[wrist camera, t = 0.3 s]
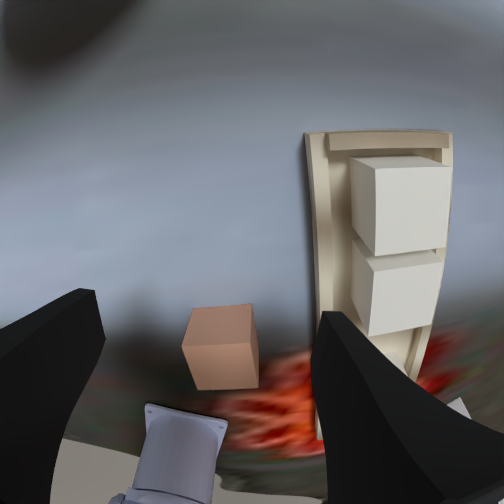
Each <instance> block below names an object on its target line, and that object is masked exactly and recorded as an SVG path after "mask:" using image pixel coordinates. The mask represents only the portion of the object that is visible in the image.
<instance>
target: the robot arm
mask: <svg viewBox="0 0 504 504" xmlns="http://www.w3.org/2000/svg"><path fill="white" fill-rule="evenodd" d="M105 340H106V338H105V334H104V330H103V326H102V322H101V318H100V313H99V309H98V304H97V300H96V295H95V290H90V289H83V288H79V289H76V290H74V291H71V292H69V293H67V294H65V295H63V296H61V297H59V298H58V299H56V300H54V301H52V302H50V303H48V304H47V305H45V306H43V307H41V308H39V309H38V310H36V311H34V312H32V313H30V314H29V315H27V316H25V317H23V318H21V319H19V320H17V321H15V322H13V323H11V324H10V325H8V326H6V327H4V328H2V329H0V504H50V493H51V485H52V479H53V473H54V468H55V463H56V459H57V455H58V451H59V447H60V444H61V440H62V437H63V434H64V431H65V428H66V425H67V422H68V420H69V417H70V415H71V413H72V411H73V409H74V407H75V405H76V403H77V401H78V399H79V397H80V395H81V393H82V391H83V389H84V387H85V385H86V383H87V382H88V380H89V378H90V376H91V374H92V372H93V370H94V368H95V366H96V364H97V362H98V359H99V356H100V354H101V351H102V348H103V346H104V343H105ZM310 363H311V377H312V388H313V393H314V398H315V403H316V408H317V413H318V417H319V422H320V427H321V432H322V437H323V442H324V447H325V454H326V465H327V482H328V504H498V502H500V501H501V500H502V499H504V434H503V433H500V432H497V431H495V430H492V429H490V428H488V427H486V426H484V425H482V424H480V423H477V422H475V421H473V420H471V419H470V418H468V417H466V416H464V415H462V414H460V413H459V412H457V411H456V410H454V409H452V408H451V407H449V406H447V405H446V404H444V403H443V402H441V401H440V400H438V399H437V398H435V397H434V396H432V395H431V394H430V393H428V392H427V391H426V390H424V389H423V388H422V387H420V386H419V385H418V384H416V383H415V382H414V381H413V380H411V379H410V378H409V377H408V376H407V375H405V374H404V373H403V372H402V371H401V370H400V369H399V368H398V367H396V366H395V365H394V364H393V363H392V362H391V361H390V360H389V359H388V358H387V357H386V356H385V355H384V354H383V353H382V352H381V351H380V350H379V349H378V348H377V347H376V346H375V345H374V344H373V343H372V342H371V341H370V340H369V339H368V338H367V337H366V336H365V335H364V334H363V333H362V332H361V331H360V330H359V329H358V328H357V327H356V326H355V325H354V324H353V322H352V321H351V320H350V319H349V318H348V317H347V316H346V315H345V314H344V313H343V312H342V311H322V314H321V319H320V323H319V327H318V331H317V335H316V339H315V343H314V347H313V351H312V355H311V359H310ZM145 420H146V432H147V435H146V439H145V442H144V446H143V449H142V453H141V456H140V460H139V463H138V467H137V470H136V474H135V478H134V482H133V486H132V488H128V489H127V493H126V495H124V494H118V495H117V496H114V497H112V498H111V500H110V502H109V503H108V504H211V502H212V493H213V484H214V475H215V466H216V458H217V455H218V452H219V449H220V447H221V444H222V441H223V438H224V435H225V432H226V429H227V426H228V422H227V421H226V420H224V419H218V418H212V417H207V416H202V415H197V414H192V413H187V412H183V411H178V410H174V409H170V408H166V407H162V406H158V405H154V404H150V403H147V404H146V405H145Z"/></svg>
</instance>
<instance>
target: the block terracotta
mask: <svg viewBox="0 0 504 504" xmlns="http://www.w3.org/2000/svg"><path fill="white" fill-rule="evenodd" d="M181 347H182V349H183V352H184V355H185V358H186V360H187V363H188V366H189V369H190V371H191V374H192V376H193V379H194V382H195V384H196V387H197V389H198V390H226V389H248V388H258V379H259V346H258V339H257V333H256V327H255V321H254V315H253V308H252V304H242V305H231V306H219V307H206V308H193V311H192V314H191V317H190V321H189V324H188V327H187V330H186V333H185V336H184V340H183V343H182V346H181Z"/></svg>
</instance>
